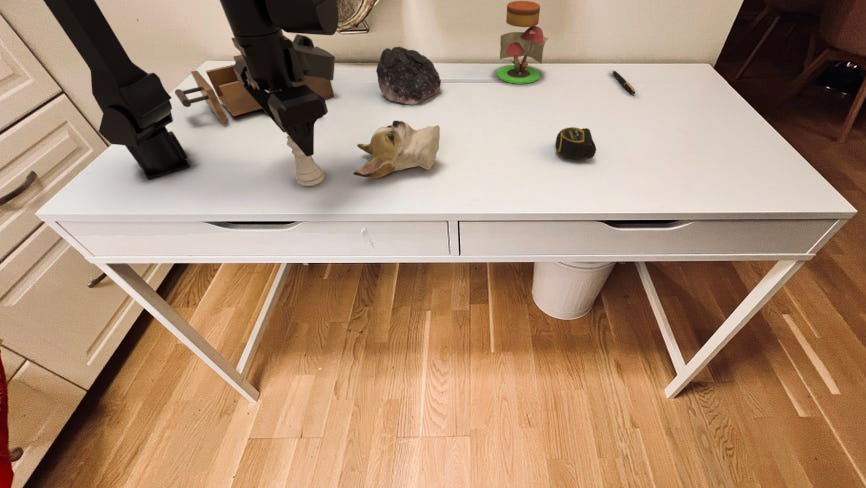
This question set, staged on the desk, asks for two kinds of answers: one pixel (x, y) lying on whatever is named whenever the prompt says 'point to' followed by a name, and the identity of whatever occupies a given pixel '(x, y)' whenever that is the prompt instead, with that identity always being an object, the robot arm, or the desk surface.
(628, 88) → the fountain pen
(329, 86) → the cabinet
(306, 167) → the rook chess piece
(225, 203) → the desk surface
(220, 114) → the drawer
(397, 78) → the crystal cluster
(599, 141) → the desk surface
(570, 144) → the tape measure
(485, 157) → the desk surface
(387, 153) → the ceramic sculpture
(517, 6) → the mushroom figurine
